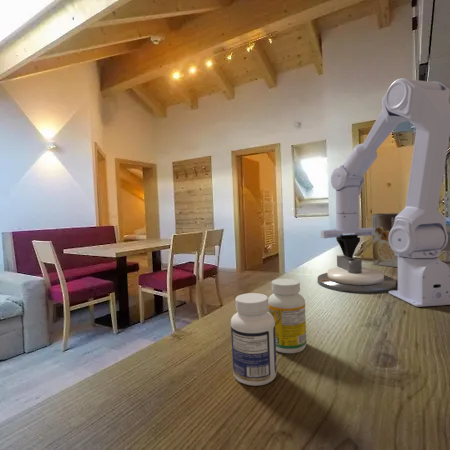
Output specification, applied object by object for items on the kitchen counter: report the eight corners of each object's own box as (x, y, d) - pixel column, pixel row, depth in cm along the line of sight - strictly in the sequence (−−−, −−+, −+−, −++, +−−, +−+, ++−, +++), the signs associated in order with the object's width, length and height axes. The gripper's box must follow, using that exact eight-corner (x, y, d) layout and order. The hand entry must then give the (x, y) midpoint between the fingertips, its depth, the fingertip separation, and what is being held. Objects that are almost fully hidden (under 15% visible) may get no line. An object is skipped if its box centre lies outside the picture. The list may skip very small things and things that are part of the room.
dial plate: (413, 290, 70) (413, 285, 70) (334, 295, 69) (334, 290, 69) (370, 272, 88) (370, 268, 88) (308, 276, 87) (307, 272, 87)
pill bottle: (249, 359, 42) (246, 288, 42) (284, 371, 39) (282, 295, 38) (224, 377, 38) (220, 299, 38) (261, 392, 35) (258, 307, 34)
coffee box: (411, 264, 96) (411, 212, 95) (402, 268, 92) (402, 214, 91) (380, 261, 103) (380, 212, 102) (371, 264, 99) (371, 214, 98)
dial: (395, 282, 73) (395, 263, 72) (342, 286, 71) (342, 266, 71) (362, 269, 87) (362, 253, 87) (317, 272, 86) (316, 256, 85)
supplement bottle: (310, 353, 43) (308, 285, 43) (271, 355, 43) (269, 287, 43) (301, 337, 49) (299, 276, 48) (266, 338, 49) (264, 277, 48)
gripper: (364, 211, 89) (364, 258, 90) (315, 214, 87) (316, 262, 88) (379, 212, 82) (379, 263, 83) (327, 214, 80) (327, 267, 81)
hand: (348, 263), depth 85 cm, fingers closed
